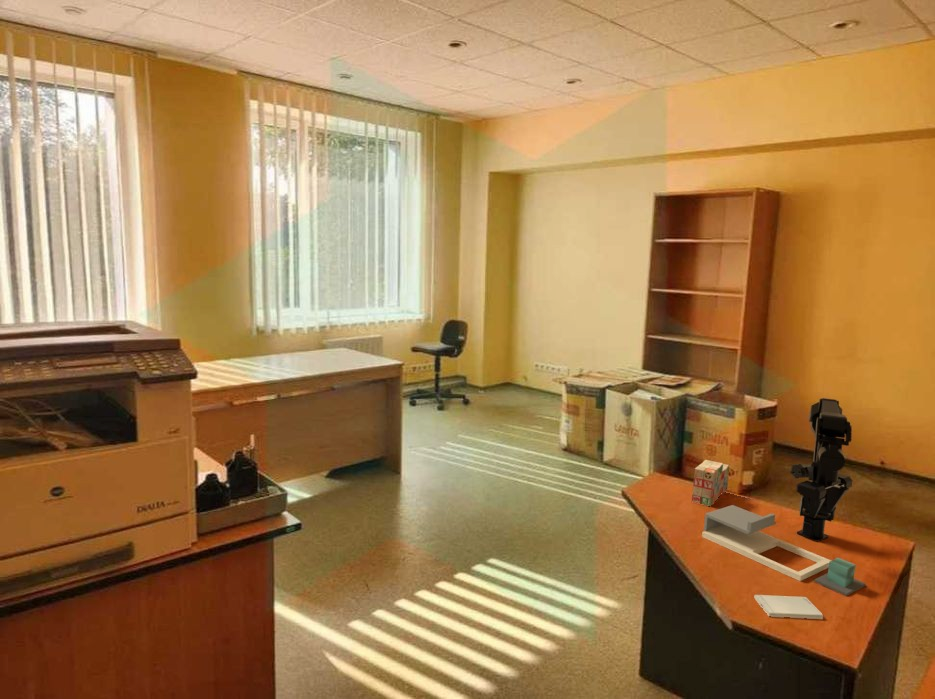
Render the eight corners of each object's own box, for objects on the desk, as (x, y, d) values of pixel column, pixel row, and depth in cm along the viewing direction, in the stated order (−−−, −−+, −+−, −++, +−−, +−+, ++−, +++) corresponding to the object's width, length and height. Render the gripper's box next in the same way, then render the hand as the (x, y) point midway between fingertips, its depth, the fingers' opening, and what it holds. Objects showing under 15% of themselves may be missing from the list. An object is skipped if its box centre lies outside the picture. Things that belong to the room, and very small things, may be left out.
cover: (730, 520, 196) (733, 497, 194) (773, 538, 184) (776, 513, 183) (703, 529, 188) (706, 506, 187) (746, 548, 177) (749, 523, 175)
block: (835, 575, 166) (837, 557, 165) (853, 582, 162) (855, 564, 161) (826, 579, 163) (829, 561, 162) (844, 587, 160) (847, 569, 159)
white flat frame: (733, 525, 196) (734, 520, 196) (831, 566, 172) (832, 560, 172) (701, 536, 187) (702, 531, 187) (800, 581, 163) (800, 575, 163)
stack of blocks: (709, 485, 231) (712, 453, 229) (727, 489, 227) (730, 457, 225) (691, 502, 214) (694, 467, 212) (710, 507, 210) (713, 472, 208)
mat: (833, 572, 169) (833, 569, 169) (865, 585, 162) (865, 583, 162) (813, 581, 163) (814, 579, 163) (846, 596, 157) (846, 593, 157)
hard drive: (805, 596, 154) (754, 593, 154) (823, 615, 146) (769, 612, 146) (804, 602, 154) (753, 599, 154) (822, 621, 146) (768, 618, 146)
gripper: (815, 446, 184) (809, 497, 186) (780, 456, 173) (774, 510, 176) (856, 458, 175) (849, 511, 177) (822, 469, 164) (814, 525, 167)
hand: (820, 514), depth 175 cm, fingers open, 9 cm apart
